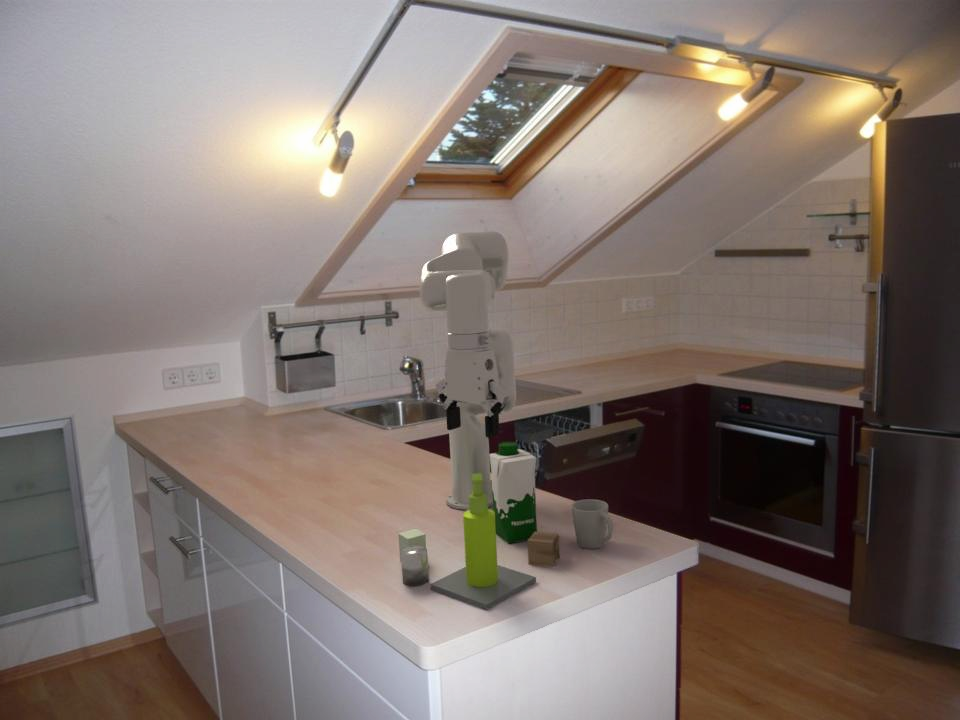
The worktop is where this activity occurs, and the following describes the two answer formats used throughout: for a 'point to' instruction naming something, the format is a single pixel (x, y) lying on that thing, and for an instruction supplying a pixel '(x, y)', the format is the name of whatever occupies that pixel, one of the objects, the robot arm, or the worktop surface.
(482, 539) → the lime spray bottle
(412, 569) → the metal tin
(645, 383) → the worktop surface
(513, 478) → the milk carton
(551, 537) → the walnut block
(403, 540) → the pale green box
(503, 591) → the plate
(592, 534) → the cup
